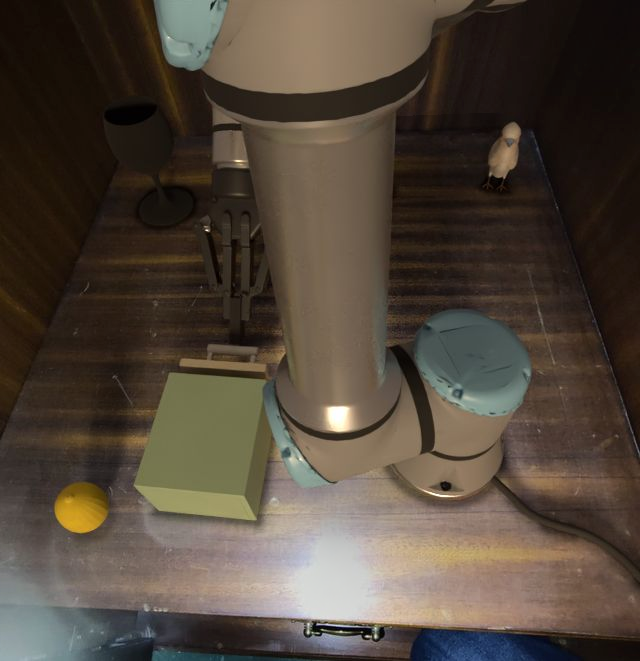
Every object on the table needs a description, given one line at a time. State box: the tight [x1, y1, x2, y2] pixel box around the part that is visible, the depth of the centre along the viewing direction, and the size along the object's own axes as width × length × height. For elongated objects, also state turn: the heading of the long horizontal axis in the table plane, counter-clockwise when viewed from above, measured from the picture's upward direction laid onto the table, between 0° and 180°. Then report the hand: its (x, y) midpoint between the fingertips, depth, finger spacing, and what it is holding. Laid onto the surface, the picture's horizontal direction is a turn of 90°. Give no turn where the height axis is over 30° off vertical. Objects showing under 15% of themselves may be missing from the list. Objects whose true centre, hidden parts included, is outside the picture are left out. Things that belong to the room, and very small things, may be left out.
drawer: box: [178, 343, 271, 382], centre depth 68 cm, size 18×11×8 cm, turn 174°
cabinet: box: [133, 372, 273, 522], centre depth 65 cm, size 15×13×10 cm
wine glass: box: [102, 94, 195, 227], centre depth 90 cm, size 10×10×20 cm
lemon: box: [53, 481, 110, 534], centre depth 62 cm, size 6×6×8 cm
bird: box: [481, 121, 522, 192], centre depth 91 cm, size 5×14×15 cm, turn 163°
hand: (236, 342), depth 73 cm, fingers closed
